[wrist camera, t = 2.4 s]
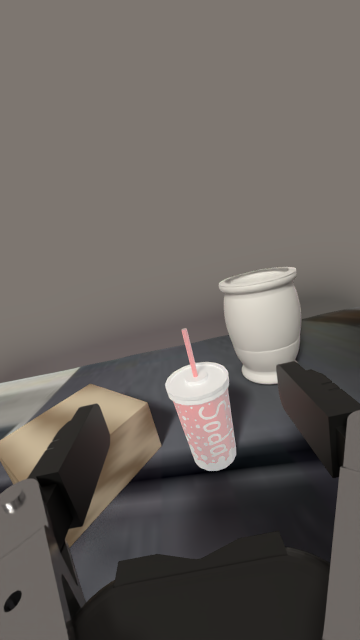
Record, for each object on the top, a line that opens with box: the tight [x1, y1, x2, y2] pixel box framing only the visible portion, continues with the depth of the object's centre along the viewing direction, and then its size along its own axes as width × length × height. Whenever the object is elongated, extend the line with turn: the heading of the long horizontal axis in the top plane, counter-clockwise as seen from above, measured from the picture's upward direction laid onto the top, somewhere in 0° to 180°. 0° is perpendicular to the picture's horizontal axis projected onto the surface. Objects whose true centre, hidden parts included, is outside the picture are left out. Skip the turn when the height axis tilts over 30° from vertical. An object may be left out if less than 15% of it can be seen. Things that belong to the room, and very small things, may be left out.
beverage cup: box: [165, 328, 236, 471], centre depth 24 cm, size 6×6×14 cm
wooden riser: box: [0, 384, 161, 548], centre depth 27 cm, size 12×12×6 cm
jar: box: [219, 267, 301, 384], centre depth 36 cm, size 11×10×15 cm
